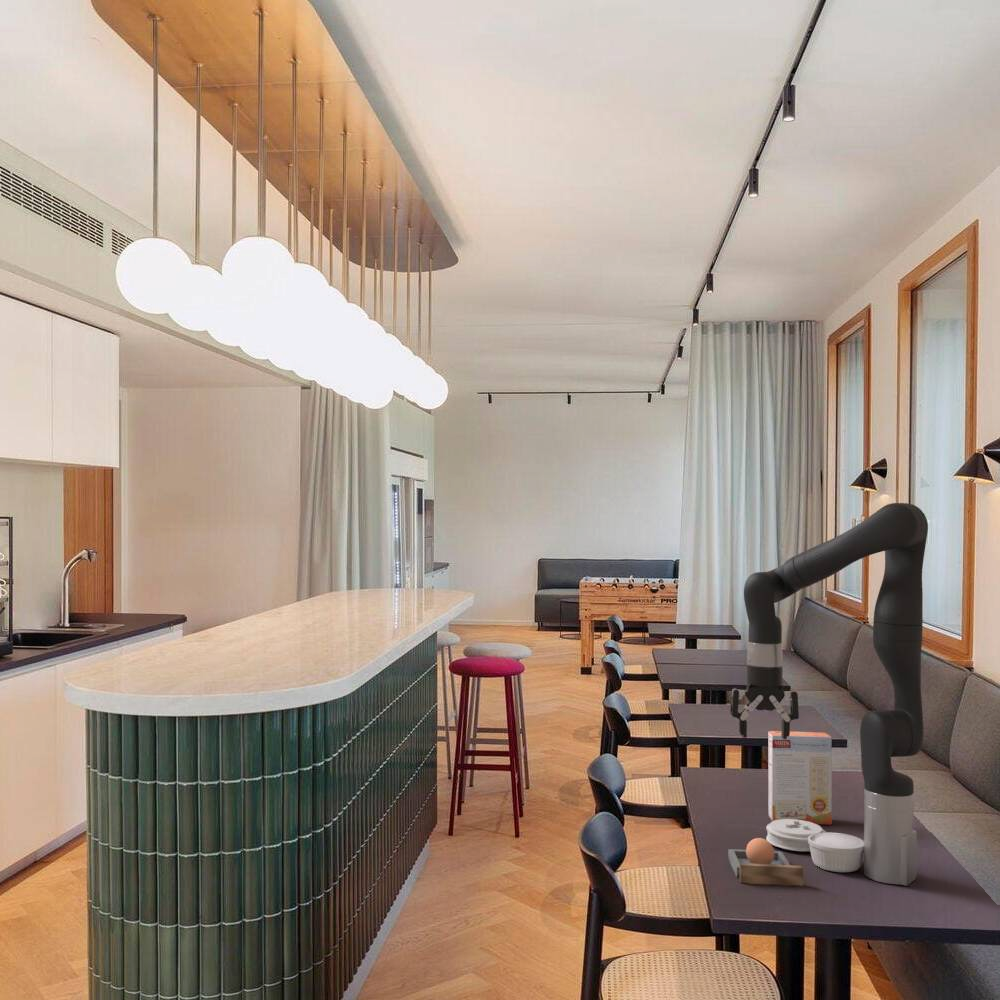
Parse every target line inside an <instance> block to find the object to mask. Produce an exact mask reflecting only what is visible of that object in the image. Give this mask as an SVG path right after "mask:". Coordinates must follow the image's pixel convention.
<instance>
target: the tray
mask: <svg viewBox="0 0 1000 1000" xmlns="http://www.w3.org/2000/svg"><path fill="white" fill-rule="evenodd" d="M727 850H728V852H727V855H728V856H727V859H728V861H729V864H730V865H731V868H732V870H733V873H734V874H735V877H736V878H738V879H740V863H751V862H750V861H749V860H748V858H747V855H746V849H737V848H736V849H735V848H734V849H731V848H729V849H727ZM751 864H752V863H751ZM770 864H773V865H791V864H790V863H789V861H788V859H787V858H786V855H784V853H783V851H779V850H778V851H776V850H774V859H773V861H772V862H771V863H770Z"/></svg>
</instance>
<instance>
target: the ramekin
mask: <svg viewBox="0 0 1000 1000" xmlns="http://www.w3.org/2000/svg"><path fill="white" fill-rule="evenodd" d="M808 843H809V844H810V851H809V852H810V855H811V860H812V862H813V864H814V865H815V866H816V867H817V866H818V868H819V867H820V869H822V870H826V871H829V872H834V873H851V872H852V873H853V872H856V871H858V870H859V869H860V868H861V867H862V864H863V860H864V839H861V838H860V837H857V836H854V835H851V834H847V833H841V832H840V833H839V832H826V833H816V834H812V835H810V836H809V837H808Z"/></svg>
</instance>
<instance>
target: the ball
mask: <svg viewBox="0 0 1000 1000" xmlns="http://www.w3.org/2000/svg"><path fill="white" fill-rule="evenodd" d="M745 850H746V855H747V858H748V860H749V861H750V862H751V863H752V864H770V863H771V862H772V861H773V859H774V851H775V849H774V847H773V845H772V844H770V842H768V841H767V840H766V839H765V838H763V837H762V838H761V837H756V838H752V840H749V842H748V843H747V846H746V849H745Z"/></svg>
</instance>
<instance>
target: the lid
mask: <svg viewBox="0 0 1000 1000" xmlns="http://www.w3.org/2000/svg"><path fill="white" fill-rule="evenodd" d="M765 827H766V831H767V835H766V836H765V838H766V839H765V840H767V841H768V842H770V844H771V845H772V846H774V847H776V848H777V847H778V848H781V849H783V850H788V851H796V852H811V851H810V844H809V843H808V837H809V836H810V835H812V834H816V833H827V831H826V830H824V829H823V828H822V827H821V825H820V824H814V823H812V822H808V821H803V820H796V819H779V820H775V821H772V820H771V821H770V823H768V824H767V825H766V826H765Z"/></svg>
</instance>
